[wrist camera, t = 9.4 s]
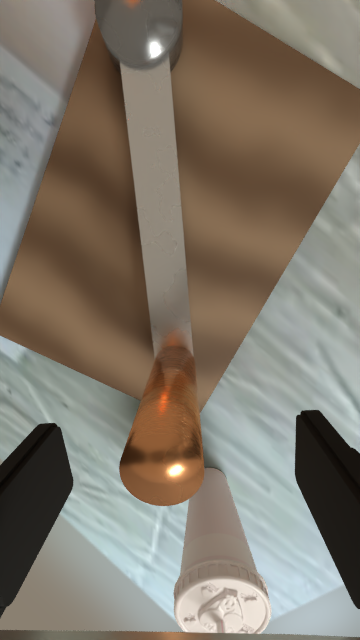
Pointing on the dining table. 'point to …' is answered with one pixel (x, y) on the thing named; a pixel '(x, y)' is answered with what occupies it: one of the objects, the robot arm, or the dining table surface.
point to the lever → (158, 251)
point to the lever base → (196, 200)
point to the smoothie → (218, 567)
